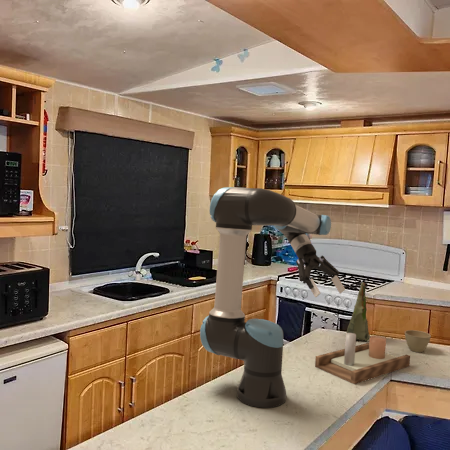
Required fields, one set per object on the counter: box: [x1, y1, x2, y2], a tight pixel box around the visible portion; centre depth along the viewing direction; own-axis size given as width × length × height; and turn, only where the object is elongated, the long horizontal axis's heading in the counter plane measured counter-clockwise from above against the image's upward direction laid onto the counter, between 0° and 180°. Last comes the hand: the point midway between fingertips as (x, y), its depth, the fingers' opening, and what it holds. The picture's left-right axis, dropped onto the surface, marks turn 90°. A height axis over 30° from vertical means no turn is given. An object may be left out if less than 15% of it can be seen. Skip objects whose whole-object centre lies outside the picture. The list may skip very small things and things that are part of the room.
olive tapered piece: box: [345, 281, 370, 342], centre depth 209 cm, size 11×12×25 cm
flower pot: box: [404, 329, 431, 353], centre depth 197 cm, size 10×10×7 cm
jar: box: [368, 335, 387, 359], centre depth 181 cm, size 6×6×7 cm
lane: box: [314, 342, 411, 385], centre depth 177 cm, size 32×18×4 cm, turn 126°
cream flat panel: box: [331, 333, 398, 371], centre depth 178 cm, size 24×14×12 cm, turn 126°
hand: (330, 293), depth 179 cm, fingers open, 13 cm apart
